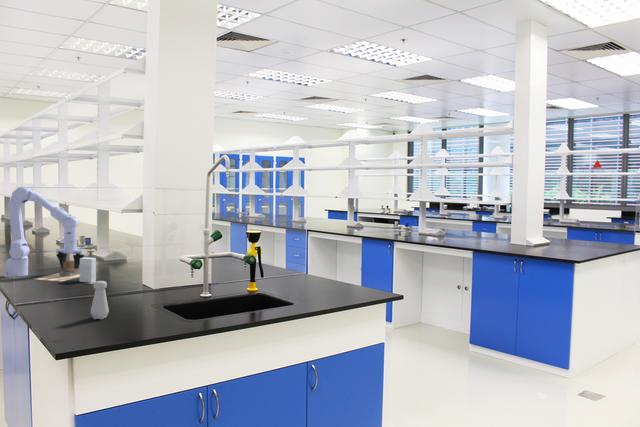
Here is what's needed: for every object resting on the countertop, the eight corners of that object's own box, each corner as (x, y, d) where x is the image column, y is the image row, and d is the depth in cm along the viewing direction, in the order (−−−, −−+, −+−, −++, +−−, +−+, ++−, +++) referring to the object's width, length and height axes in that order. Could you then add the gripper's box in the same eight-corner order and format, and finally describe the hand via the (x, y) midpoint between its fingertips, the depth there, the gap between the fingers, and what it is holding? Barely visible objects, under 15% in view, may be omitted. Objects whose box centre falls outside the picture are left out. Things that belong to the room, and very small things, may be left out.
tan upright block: (63, 275, 248) (63, 261, 247) (69, 274, 252) (69, 260, 252) (68, 275, 247) (68, 261, 247) (74, 274, 251) (74, 260, 251)
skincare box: (96, 282, 238) (96, 257, 237) (91, 284, 234) (91, 258, 233) (84, 282, 238) (84, 257, 238) (78, 283, 234) (79, 258, 234)
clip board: (31, 281, 236) (31, 274, 236) (64, 273, 258) (64, 267, 257) (61, 283, 233) (61, 276, 233) (91, 276, 254) (91, 269, 254)
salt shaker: (94, 316, 177) (94, 279, 177) (110, 316, 178) (111, 280, 177) (87, 320, 171) (88, 282, 171) (105, 320, 172) (105, 283, 171)
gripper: (51, 241, 247) (51, 268, 247) (77, 242, 244) (77, 270, 245) (61, 239, 254) (61, 266, 254) (87, 241, 251) (86, 268, 252)
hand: (69, 268), depth 250 cm, fingers open, 7 cm apart
